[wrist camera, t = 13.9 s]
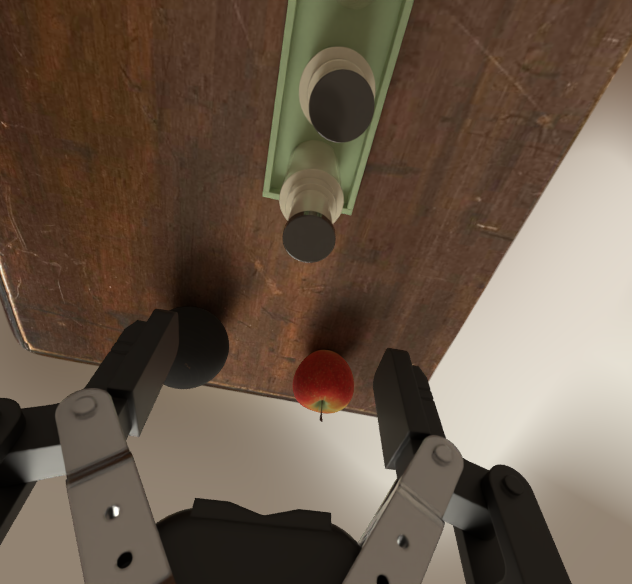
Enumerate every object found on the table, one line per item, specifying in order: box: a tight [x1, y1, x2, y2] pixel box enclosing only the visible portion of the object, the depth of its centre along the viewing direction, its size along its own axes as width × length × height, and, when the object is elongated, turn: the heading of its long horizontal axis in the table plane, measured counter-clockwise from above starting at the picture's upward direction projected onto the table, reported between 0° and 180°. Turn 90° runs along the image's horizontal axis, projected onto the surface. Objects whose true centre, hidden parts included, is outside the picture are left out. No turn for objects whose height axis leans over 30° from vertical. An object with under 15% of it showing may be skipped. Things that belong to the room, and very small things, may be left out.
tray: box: [263, 0, 414, 215], centre depth 30 cm, size 22×9×2 cm, turn 168°
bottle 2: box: [279, 140, 344, 263], centre depth 28 cm, size 5×5×16 cm
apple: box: [293, 350, 354, 422], centre depth 47 cm, size 8×8×10 cm
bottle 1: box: [299, 46, 376, 143], centre depth 24 cm, size 5×5×16 cm
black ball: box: [164, 307, 229, 389], centre depth 43 cm, size 10×10×10 cm
